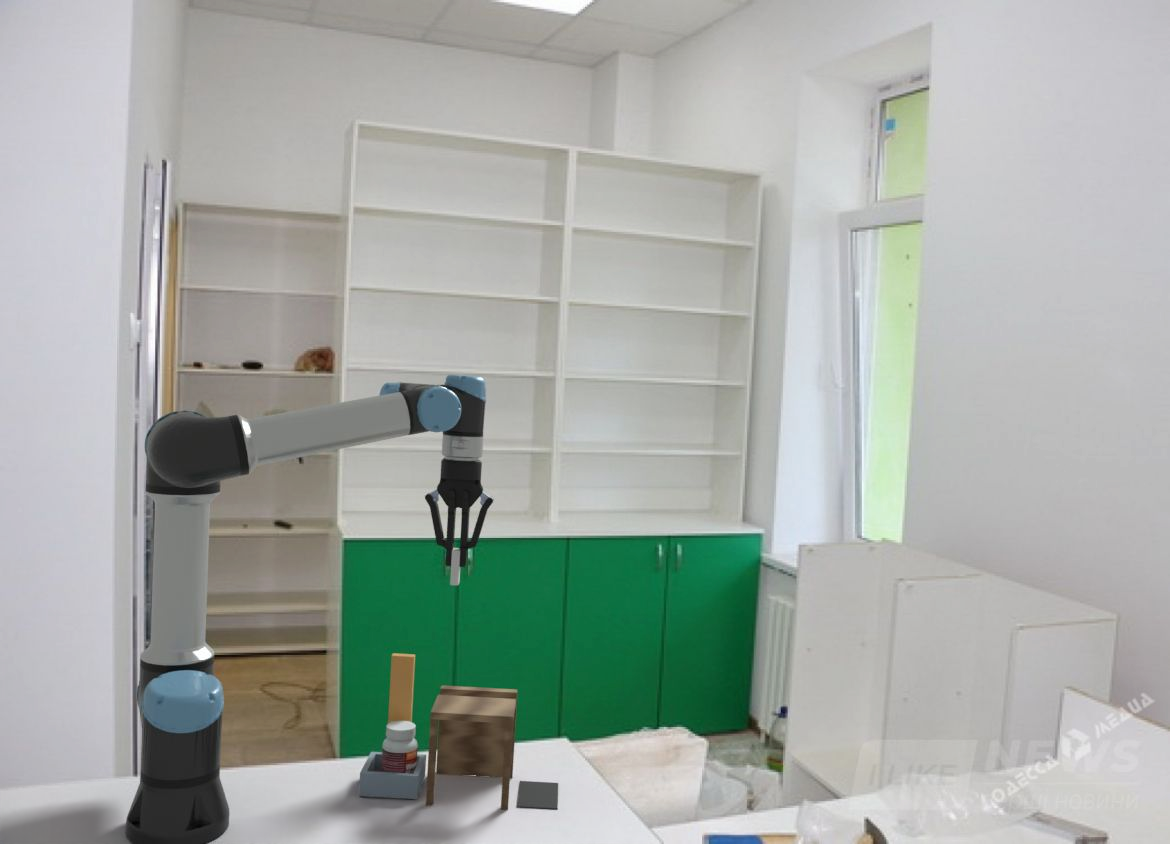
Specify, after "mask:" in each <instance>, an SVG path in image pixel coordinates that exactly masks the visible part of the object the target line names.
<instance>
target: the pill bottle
mask: <svg viewBox="0 0 1170 844" xmlns="http://www.w3.org/2000/svg"><path fill="white" fill-rule="evenodd" d="M385 728H386V729H385V737H386V738H385V739H384V740H383V742H382V747H381V748H382V751H381V752H382V769H381V772H392V773H410V774H413V773H414V771H415V768H416V765H417V754H418V750H419V749H418V748H419V746H418V745H419V743H418V741H417V739H416V738H415V737H416V733H417V732H416V730H417V729H416V728H417V726H416V724H415V723H414V722H409V721H393V722H390V723H388V722H387V724H386V726H385Z"/></svg>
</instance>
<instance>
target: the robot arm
mask: <svg viewBox="0 0 1170 844" xmlns="http://www.w3.org/2000/svg"><path fill="white" fill-rule="evenodd" d="M486 389H487V388H486V381H485V379H484V378H483V377H481V376H478V375H464V374H463V375H459V374H448V375H447V376H446V377H445V382H444V384H426V383H414V382H413V383H412V382H401V381H399V382H386V383H384V384H383V385H382V386H381V388H380V391H379V395H374V396H370V397H365V398H359V399H354V400H349V401H342V402H337V403H331V404H325V405H320V406H314V407H309V408H303V409H297V410H293V411H286V412H280V413H276V414H270V415H264V416H259V417H254V418H245V417H243V416H242V415H240V414H233V415H228V416H218V417H212V416H211V417H208V416H206V415H203V414H202V413H199V412H197V411H191V410H190V411H189V410H187V409H186V410H175V411H173V412H169V413H166V414H164V415H163V416H161V417H160V418H157V420H155V422H154V423H152V425H151V426H150V428H149V430H148V431H147V433H146V436H145V439H144V453H145V456H146V467H145V468H146V469H145V494H146V495H147V496H148V497H149V498H150V499H151V500H153V502H154V527H153V528H154V530H153V532H154V533H153V557H152V563H153V565H152V587H151V588H152V589H151V590H152V591H151V592H152V594H151V615H150V617H151V621H150V623H151V624H150V625H151V626H150V644H149V645H148V646H147V648H145V649H144V650H143V651H142V652H140V657H139V658H140V660H139V680H138V685H137V688H136V701H137V707H138V709H139V710H138V711H139V715H140V716H139V717H140V724H141V726H140V727H141V747H140V749H141V752H140V755H141V756H140V773H139V774H140V776H139V784H138V787H137V789H136V791H135V792H136V793H135V795H134V798H133V800H132V803H131V805H130V807H129V808H130V809H129V811H128V813H127V816H126V820H125V837H126V838H127V840H128V841H129V842H131V843H132V844H206V843H208V842H211V841H214V840H215V839H217V838H219V837H220V836H222V835H223V834H224V833H225V832H226V831H227V829H228V828H229V826H230V807H229V803H228V800H227V797H226V793H225V789H224V787H223V784H222V780H221V778H220V777H221V776H220V774H221V773H220V772H221V770H220V769H221V752H222V749H221V748H222V730H223V729H222V728H223V727H222V726H223V710H224V706H225V696H224V688H223V684H222V682H221V681H220V680H219V679H218V678H217V677H216V676H214V675H215V650H214V649H213V648H212V647H211V646H210V645H209V644H208V643H207V642H206V630H207V607H208V605H207V604H208V603H207V602H208V601H207V600H208V578H209V577H208V575H209V574H208V572H209V550H210V549H209V545H210V544H209V543H210V523H211V522H210V521H211V520H210V517H211V503H212V501H213V500H214V499H216V498H217V497H218V495H220V494H221V481H225V480H230V479H234V478H238V477H242V476H246V475H250V474H252V473H253V471H254V470H255V469H256V467H258V466H263V465H268V464H273V463H279V462H283V461H288V460H293V459H297V458H303V457H308V456H311V455H317V454H323V453H328V452H332V451H335V450H336V451H337V450H338V451H339V450H342V449H348V448H351V447H357V446H360V445H361V446H362V445H366V444H372V443H376V442H381V441H386V440H390V439H395V438H401V437H405V436H412V435H418V434H422V433H427V432H433V433H440V432H442V442H441V443H442V444H441V445H442V446H441V455H442V456H443V457H444V458H442V459H441V460H440V461H441V462H440V475H439V476H440V480H439V482H438V484H437V487H436V489H434V490H433V491H431V492H427V494H426V495H424V499H425V502H426V503H427V504H428V506H429V508H430V515H431V520H432V525H433V530H434V536H435V543H436V545H437V546H440V547H442V548H444V549H445V562H444V564H445V566H446V567H450V579H449V585H450V586H459V584H460V581H461V568H465V567H466V565H467V558H468V550H469V549H472V548H473V549H474V548H475V547H476V546H477V544H478V542H479V538H480V535H481V533H482V528H483V527H484V526H483V525H484V522H485V519H486V517H487V513H488V510H489V508H490V507H491V506H492V504H493V502H494V501H495V499H494V497H493V496H491V495H488V494H487V493H486V492H484V488H483V485H482V468H483V467H482V466H483V465H482V464H483V462H482V460H480V458H482V457H483V452H484V448H483V447H484V425H485V413H486V403H487V395H486V394H487V391H486ZM439 496H440V498H441V499H442V501H443V502H444V504H445V505H446V506H447V525H446V538H445V535H444V530H443V525H442V519H441V514H440V510H439V509H440V507H439V504H438V502H439V500H440V498H439ZM479 498H480V501H479V503H480V505H481V507H480V509H479V513H478V515H477V519H476V522H475V526H474V529H473V533H472V536H471V540H469V529H470V513H471V507H472V506H473V505H474V504H475V503H476V502H477V500H478V499H479ZM457 508H460V509H461V518H460V519H461V523H460V541H459V547H455V536H456V535H455V534H456V533H455V531H456V519H457V517H456V514H457Z"/></svg>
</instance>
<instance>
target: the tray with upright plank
mask: <svg viewBox="0 0 1170 844" xmlns="http://www.w3.org/2000/svg"><path fill="white" fill-rule="evenodd" d="M415 667H416V654H411V653H410V654H409V653H397V652H396V653H392V654H391V664H390V677H389V679H390V681H389V682H390V683H389V701H388V720H387V724H388V723H390V722H393V721H409V722H412V721H413V705H414V688H415V687H414V686H415V685H414V684H415ZM412 723H413V722H412ZM426 766H427V754H419V753H417V765H416V768H415V771H414V773H413V774H410V773H392V772H381V769H382V751H370V752H369V754H368V756H367V759H366V761H365V763H364V765H363V766H362V768H361V770H360V772H359V785H358V786H359V787H358V788H359V789H358V796H359V797H371V798H372V797H373V798H391V799H394V798H395V799H407V800H408V799H410V800H418V798H419V796H420V795H419V794H420V791H421V788H422V787H423V783H424V781H425V777H426V769H427V768H426Z"/></svg>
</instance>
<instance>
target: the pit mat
mask: <svg viewBox="0 0 1170 844" xmlns="http://www.w3.org/2000/svg"><path fill="white" fill-rule="evenodd" d="M517 794H518V795H517V804H516V808H520V809H521V808H522V809H523V808H525V809H541V810H542V809H543V810H544V809H545V810H558V808H559V807H558V806H559V805H558V804H559V803H558V802H559V782H547V781H530V780H529V781H527V780H520V781H519V785H518V793H517Z"/></svg>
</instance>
